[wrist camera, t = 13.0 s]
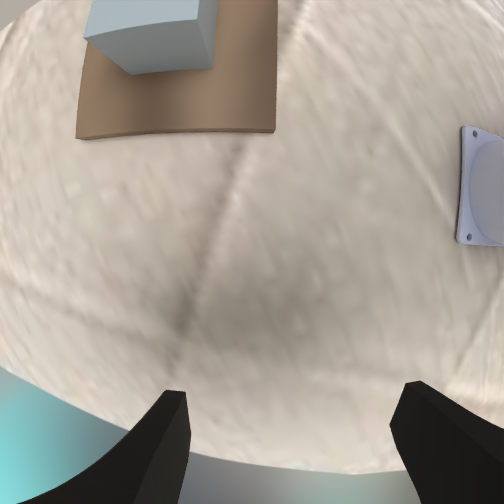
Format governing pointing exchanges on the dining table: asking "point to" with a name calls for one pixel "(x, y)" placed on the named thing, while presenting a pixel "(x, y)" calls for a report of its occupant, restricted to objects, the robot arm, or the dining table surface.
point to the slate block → (154, 33)
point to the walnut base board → (190, 84)
